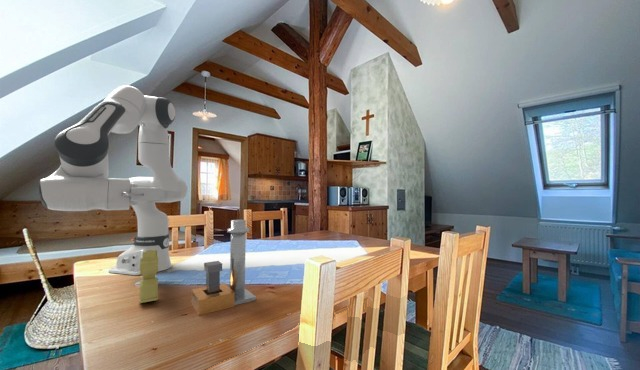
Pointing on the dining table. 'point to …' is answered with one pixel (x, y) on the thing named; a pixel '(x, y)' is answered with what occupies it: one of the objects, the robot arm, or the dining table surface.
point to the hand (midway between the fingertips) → (178, 194)
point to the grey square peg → (212, 277)
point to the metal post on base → (237, 277)
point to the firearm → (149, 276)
